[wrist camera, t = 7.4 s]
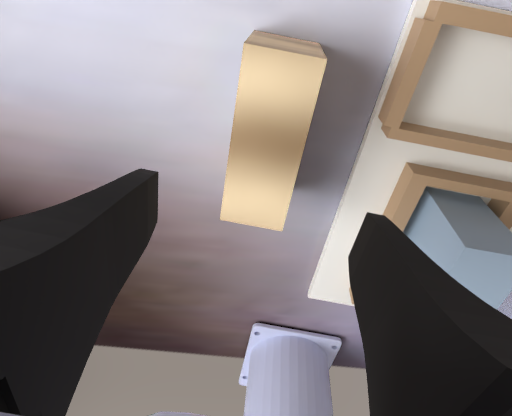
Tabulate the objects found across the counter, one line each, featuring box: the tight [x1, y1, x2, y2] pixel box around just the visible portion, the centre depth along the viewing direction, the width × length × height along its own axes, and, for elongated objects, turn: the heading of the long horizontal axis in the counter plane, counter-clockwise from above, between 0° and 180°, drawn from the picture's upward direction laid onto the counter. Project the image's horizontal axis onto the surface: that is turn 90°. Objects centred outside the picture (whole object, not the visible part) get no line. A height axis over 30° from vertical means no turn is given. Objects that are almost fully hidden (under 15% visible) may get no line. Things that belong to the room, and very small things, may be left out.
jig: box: [308, 0, 512, 306], centre depth 22 cm, size 21×13×2 cm, turn 170°
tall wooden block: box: [220, 30, 327, 231], centre depth 19 cm, size 9×4×5 cm, turn 170°
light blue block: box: [403, 187, 512, 310], centre depth 21 cm, size 8×4×6 cm, turn 171°
